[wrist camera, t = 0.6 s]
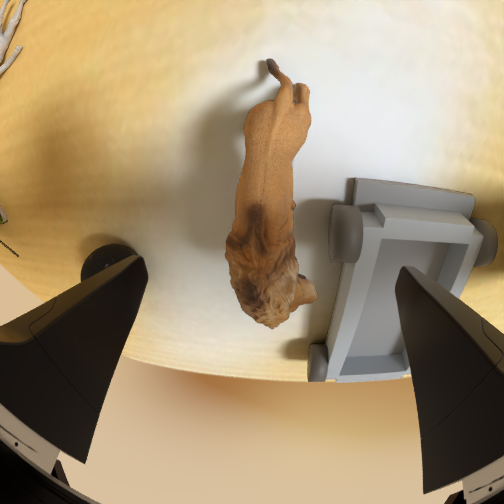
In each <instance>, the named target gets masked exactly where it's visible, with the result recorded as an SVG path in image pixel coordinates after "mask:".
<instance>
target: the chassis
mask: <svg viewBox="0 0 504 504" xmlns="http://www.w3.org/2000/svg"><path fill="white" fill-rule="evenodd" d="M475 199H476V197H474V196H473V195H472V194H468V193H463V192H458V191H452V190H447V189H441V188H435V187H428V186H422V185H415V184H407V183H400V182H391V181H383V180H373V179H363V178H355V184H354V193H353V201H352V205H338V204H334V205H333V206H332V209H331V213H330V220H329V234H328V245H329V256H330V260H331V262H332V263H343V266H342V271H341V276H340V281H339V286H338V291H337V296H336V300H335V305H334V309H333V314H332V318H331V322H330V326H329V330H328V334H327V338H326V342H325V345H316V344H311V345H310V348H309V354H308V367H307V376H308V382H324V381H325V380H326V379H336V383H344V382H365V381H378V380H389V379H399V378H402V377H403V375H405V374H411V370H410V365H409V361H408V356H407V352H406V347H405V343H404V339H403V335H402V331H401V326H400V320H399V313H398V307H397V301H396V296H395V284H396V281H397V278H398V275H399V271H400V269H401V267H402V266H414V267H415V268H417V269H418V270H419V271H421V272H422V273H424V274H425V275H427V276H428V277H430V278H431V279H432V280H434V281H435V282H437V283H438V284H439V285H441V286H442V287H444V288H445V289H446V290H448V291H449V292H450V293H452V294H453V295H454V296H456V297H457V298H458V299H459V297H460V295H461V293H462V291H463V289H464V287H465V285H466V282H467V280H468V278H469V276H470V273H471V271H472V268H473V267H486V266H488V265H490V264H491V263H492V261H493V260H494V258H495V256H496V252H497V247H498V238H497V233H496V230H495V228H494V226H493V225H492V223H491V222H489V221H488V220H483V219H476V218H471V214H472V211H473V207H474V203H475Z"/></svg>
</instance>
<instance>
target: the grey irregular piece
mask: <svg viewBox="0 0 504 504" xmlns="http://www.w3.org/2000/svg"><path fill="white" fill-rule="evenodd" d="M9 2H10V0H5V1H4V4H3V5H2V7H1V9H0V63H1V61H2V60H3V58H4V56H3V55H4V54H5V51H6V49H7V48H8V46H9V43H10V41H11V39H12V36H13V34H14V32H15V28H16V25H17V24H18V22H19V19H20V18H21V11H22V8H23V4H24V3H25V2H26V0H21V1H20V3H19V6H18V9H17V10H16V12H15V14H14V16H13V17H12V18H11V20H10V21H9V24H8V26H7V29H6V31H5V33H4V35H3V33H2V18H3V15H4V12H5V9H6V6H7V4H8V3H9ZM19 46H20V45H19ZM19 46H17V47H18V48H19V49H20V50H19V49H18V48H17V47H16V49H15V51H14V53H13V55H12V56H11V57H10V58H9V59H8V60H7V61H6V62H5V63H4V64H3V65H2V66H0V75H1V74H2V73H3V72H4V71H5V70H6V69H7V68H8V67H9V66H10V65H11V64H12V63H13V61H14V60H15V58H16V57H17V55H18V54H19V53H20V51H21V49H22V46H20V47H21V48H20V47H19Z"/></svg>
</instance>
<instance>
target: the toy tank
mask: <svg viewBox="0 0 504 504" xmlns="http://www.w3.org/2000/svg"><path fill="white" fill-rule="evenodd" d="M7 221H8V220H7V216H6V214H5V212H4V211H3V209H2V208H1V206H0V224H2V223H3V224H4V223H6V222H7ZM0 241H1V240H0ZM1 242H2V241H1ZM1 242H0V243H1ZM2 243H3V242H2ZM3 245H4V246H5V244H4V243H3ZM6 246H7V245H6ZM6 246H5V247H6ZM7 247H8V246H7ZM7 247H6V248H7ZM8 248H9V247H8ZM9 250H10V251H11V249H10V248H9ZM11 252H12V253H13V252H14V251H13V250H12V251H11ZM14 254H15V255H16V253H15V252H14ZM17 255H18V254H17ZM17 255H16V256H17ZM18 256H19V255H18ZM18 256H17V257H18Z"/></svg>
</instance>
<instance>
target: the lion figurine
mask: <svg viewBox="0 0 504 504" xmlns="http://www.w3.org/2000/svg"><path fill="white" fill-rule="evenodd" d="M266 62H267V65H268V69H269V72H270V73H271V74H272V75H273V76H274V77H275V78H276V79H278V81H280V83H281V87H280V90H279V93H278V94H277V96H276V98H275V100H267V101H265V102H262V103H260V104H258V105H256V106H255V107H253V108H252V109H251V110H250V111H249V113H248V115H247V119H246V122H245V124H244V135H245V148H246V155H245V161H244V165H243V168H242V172H241V176H240V180H239V184H238V187H237V192H236V202H235V213H236V219H235V220H234V222H233V226H232V231H231V232H230V233H229V235H228V237H227V240H226V253H225V258H226V259H227V261H228V263H229V271H230V272H229V274H230V276H231V281H230V282H231V285H232V288H233V289H235V293H236V295H237V298H238V301H239V303H240V305H241V308H242V310H243V311H244V312H245V313H246V314H248V315H249V316H251V317H252V318H253V319H254V320H255V321H256V322H257V323H262V324H264V325H265V326H268V327H269V328H271V329H274V327H277V326H278V325H279V324H280V323H282V322H284V321H285V320H287V319H288V318H289V314H290V312H293V311H295V310H296V309H297V308H298V306H299V305H303V304H309V303H313V302H314V301H315V300H316V299H317V297H318V294H317V292H316V290H315V285H314V284H313V283H312V282H311V281H310V280H307V279H306V277H305V276H303V275H301V274H298V269H299V265H298V263H297V259H296V258H295V239H294V236H293V234H292V231H293V212H292V211H293V209H294V208H295V206H296V205H295V203H294V201H293V200H292V198H293V168H292V161H293V159H294V157H295V155H296V154H297V152H298V151H299V149H300V148H301V147H302V145H303V144H304V143H305V141H306V137H307V132H308V129H309V127H310V125H311V115H310V112H309V94H310V90H309V88H308V87H307V86H306V85H305V84H302V83H296V84H295V86H294V88H293V86H292V82H291V80H290V79H289V78H288V77H287V76H285V75H284V74H283V73H281V72H280V70H279V67H278V65H277V64H276V63H275V61H274V60H273V59H267V60H266ZM293 100H295V101H296V104H294V103H293Z"/></svg>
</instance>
